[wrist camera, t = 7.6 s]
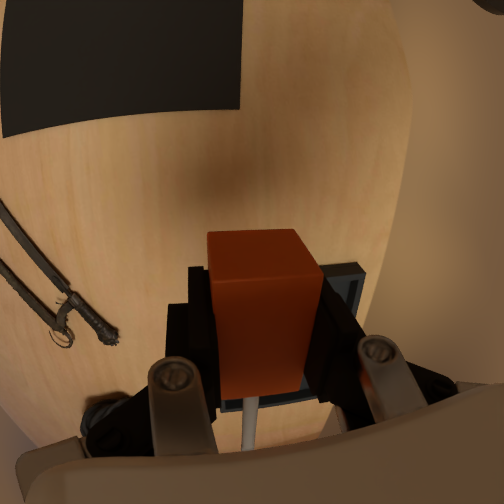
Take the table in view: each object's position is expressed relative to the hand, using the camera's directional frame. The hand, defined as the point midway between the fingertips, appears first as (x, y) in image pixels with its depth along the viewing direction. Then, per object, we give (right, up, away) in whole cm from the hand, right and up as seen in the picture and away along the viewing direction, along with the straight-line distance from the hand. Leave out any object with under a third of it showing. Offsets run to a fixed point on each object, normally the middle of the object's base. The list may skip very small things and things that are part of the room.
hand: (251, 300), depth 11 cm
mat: (-11, +18, +6) cm, 22 cm away
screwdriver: (0, -3, +2) cm, 4 cm away
